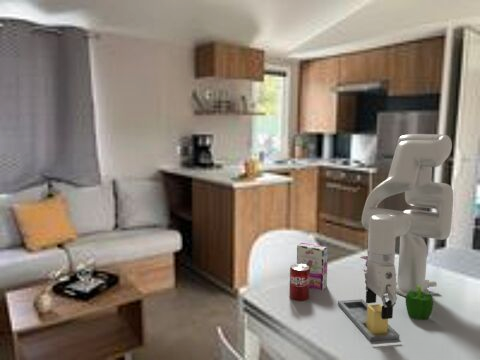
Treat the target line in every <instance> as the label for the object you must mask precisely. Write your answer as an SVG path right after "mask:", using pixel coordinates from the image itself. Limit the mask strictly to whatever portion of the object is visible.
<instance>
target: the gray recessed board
mask: <svg viewBox="0 0 480 360" xmlns="http://www.w3.org/2000/svg"><path fill="white" fill-rule="evenodd" d="M337 305H338V306H339V308H340V309H341V310H342V312H343V313H345V314H346V316H347V317H348V318H349V319H350V321H352V323H353V324H354V325H355V326H356V327H357V328H358V329H359V331H360V332H361V333H362V334H363V335H364V337H365V338H366V339H367V340H368V341H369V343H375V342H384V341H385V342H387V341H398V340H400V334H399V333H398V332H397V331H396V330H395V329H394V328H393V327H392V326H391V325H390V324H389V323H388V329H387V333H377V334H371V332H370V331H369V330H368V329H367V328H366V321H367V305H369V303H366V300H364V299H363V298H361V299H359V298H358V299H347V300H346V299H345V300H338V301H337Z"/></svg>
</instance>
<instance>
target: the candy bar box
mask: <svg viewBox="0 0 480 360" xmlns="http://www.w3.org/2000/svg"><path fill="white" fill-rule="evenodd" d="M296 249H297V250H296V264H304V265H307V266H309V268H310V289H316V290H321V291H323V290H324V289H326V288H327V287H328V262H329V261H328V260H329V259H328V257H329V254H328V253H329V246H323V245H318V244H313V243H312V244H311V243H305V242H301V243H299V244H297V246H296Z"/></svg>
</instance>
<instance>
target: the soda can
mask: <svg viewBox="0 0 480 360" xmlns="http://www.w3.org/2000/svg"><path fill="white" fill-rule="evenodd" d="M310 290H311V288H310V268H309V266H307V265H304V264H297V263H294V264H291V266H290V268H289V290H288V291H289V294H288V295H289V298H290V300H293V301H294V302H295V301H296V302H305V301H308V300H309V299H310V295H311V294H310Z"/></svg>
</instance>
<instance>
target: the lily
mask: <svg viewBox="0 0 480 360" xmlns="http://www.w3.org/2000/svg"><path fill="white" fill-rule="evenodd" d="M366 253H367V255H363V256H360V259H362V260H365V264H364V265H365V266H367V264H368V248H367V249H366Z"/></svg>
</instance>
